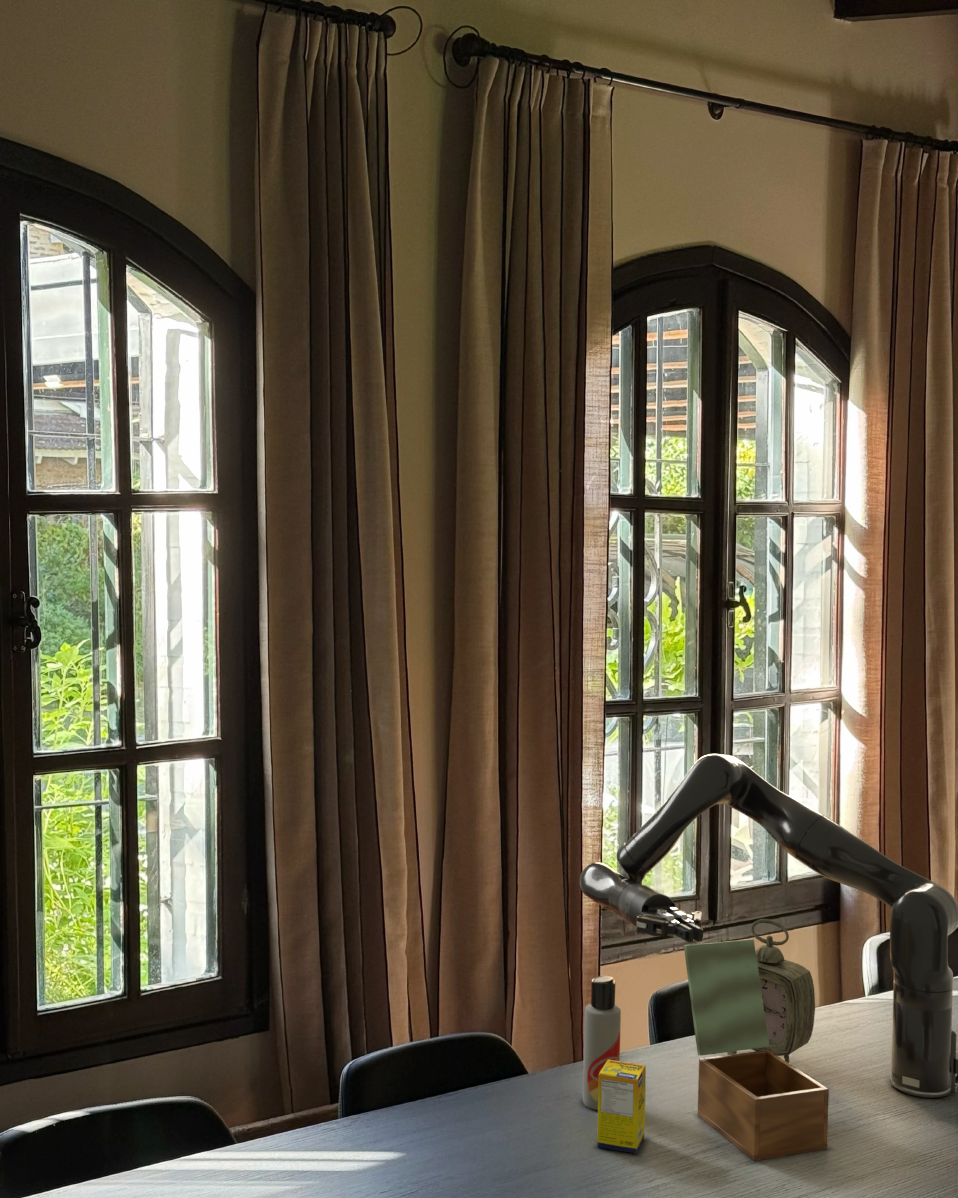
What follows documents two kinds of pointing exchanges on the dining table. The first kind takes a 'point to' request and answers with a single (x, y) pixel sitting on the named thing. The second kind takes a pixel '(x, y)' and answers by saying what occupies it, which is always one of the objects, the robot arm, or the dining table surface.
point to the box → (763, 1104)
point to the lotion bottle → (599, 1035)
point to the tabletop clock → (784, 997)
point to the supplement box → (621, 1106)
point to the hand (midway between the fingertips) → (696, 936)
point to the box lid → (726, 996)
